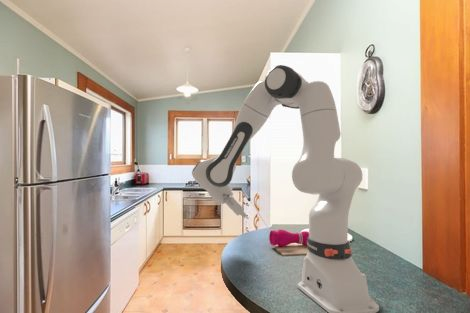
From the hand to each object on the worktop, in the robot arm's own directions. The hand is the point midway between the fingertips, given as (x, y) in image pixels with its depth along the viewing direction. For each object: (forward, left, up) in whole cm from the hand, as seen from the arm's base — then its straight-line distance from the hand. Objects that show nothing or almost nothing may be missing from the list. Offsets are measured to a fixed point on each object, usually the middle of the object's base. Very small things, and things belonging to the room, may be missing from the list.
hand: (244, 216), depth 108 cm
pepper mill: (+1, -12, -10) cm, 16 cm away
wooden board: (0, -24, -14) cm, 28 cm away
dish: (+16, -46, -15) cm, 51 cm away
